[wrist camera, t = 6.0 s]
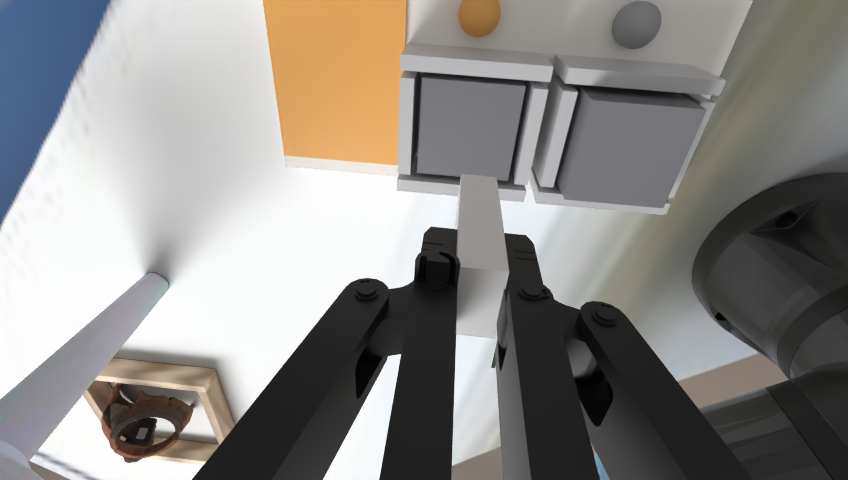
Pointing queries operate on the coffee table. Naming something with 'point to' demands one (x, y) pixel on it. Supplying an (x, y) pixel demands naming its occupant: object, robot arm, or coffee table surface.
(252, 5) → the coffee table surface
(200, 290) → the coffee table surface
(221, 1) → the coffee table surface
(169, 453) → the mug frame
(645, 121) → the block
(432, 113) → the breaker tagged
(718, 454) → the robot arm
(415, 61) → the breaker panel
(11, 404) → the novelty light stick
